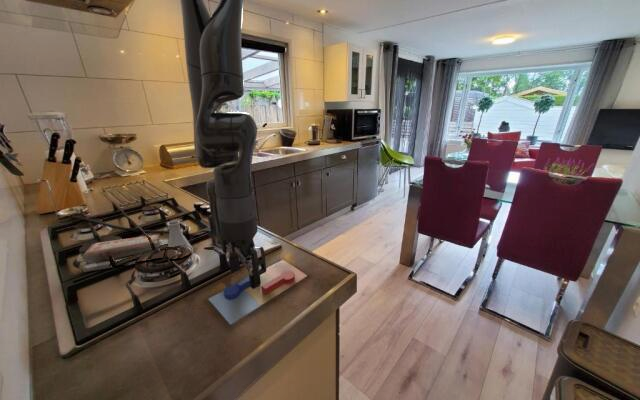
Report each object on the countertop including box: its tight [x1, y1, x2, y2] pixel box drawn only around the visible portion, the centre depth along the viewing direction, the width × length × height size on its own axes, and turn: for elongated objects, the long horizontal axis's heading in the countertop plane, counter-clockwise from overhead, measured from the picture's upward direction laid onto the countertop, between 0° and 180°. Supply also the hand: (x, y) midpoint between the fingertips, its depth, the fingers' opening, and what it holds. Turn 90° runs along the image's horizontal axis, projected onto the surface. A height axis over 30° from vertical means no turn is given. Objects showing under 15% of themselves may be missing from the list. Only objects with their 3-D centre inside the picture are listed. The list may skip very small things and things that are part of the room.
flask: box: [166, 219, 194, 253], centre depth 71 cm, size 7×7×10 cm
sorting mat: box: [208, 259, 308, 326], centre depth 60 cm, size 21×10×1 cm, turn 137°
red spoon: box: [262, 271, 295, 295], centre depth 60 cm, size 9×3×2 cm, turn 137°
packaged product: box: [82, 234, 169, 273], centre depth 70 cm, size 18×5×10 cm
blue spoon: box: [223, 275, 250, 300], centre depth 58 cm, size 9×3×2 cm, turn 137°
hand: (245, 278), depth 58 cm, fingers open, 8 cm apart
